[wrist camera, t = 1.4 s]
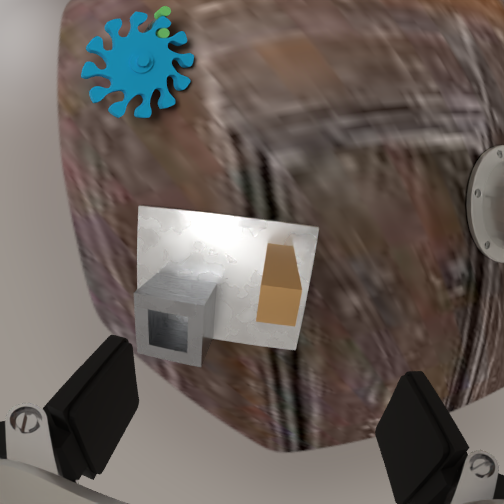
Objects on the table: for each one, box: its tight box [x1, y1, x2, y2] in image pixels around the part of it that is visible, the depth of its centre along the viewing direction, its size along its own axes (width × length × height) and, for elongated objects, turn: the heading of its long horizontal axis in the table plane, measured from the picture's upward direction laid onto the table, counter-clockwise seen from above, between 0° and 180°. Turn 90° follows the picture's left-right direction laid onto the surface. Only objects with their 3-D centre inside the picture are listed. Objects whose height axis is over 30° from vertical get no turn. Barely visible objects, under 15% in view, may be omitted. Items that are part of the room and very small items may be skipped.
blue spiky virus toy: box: [81, 6, 194, 118], centre depth 21 cm, size 11×6×10 cm
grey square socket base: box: [134, 205, 319, 367], centre depth 25 cm, size 16×12×6 cm
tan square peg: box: [256, 243, 302, 327], centre depth 21 cm, size 2×2×10 cm
